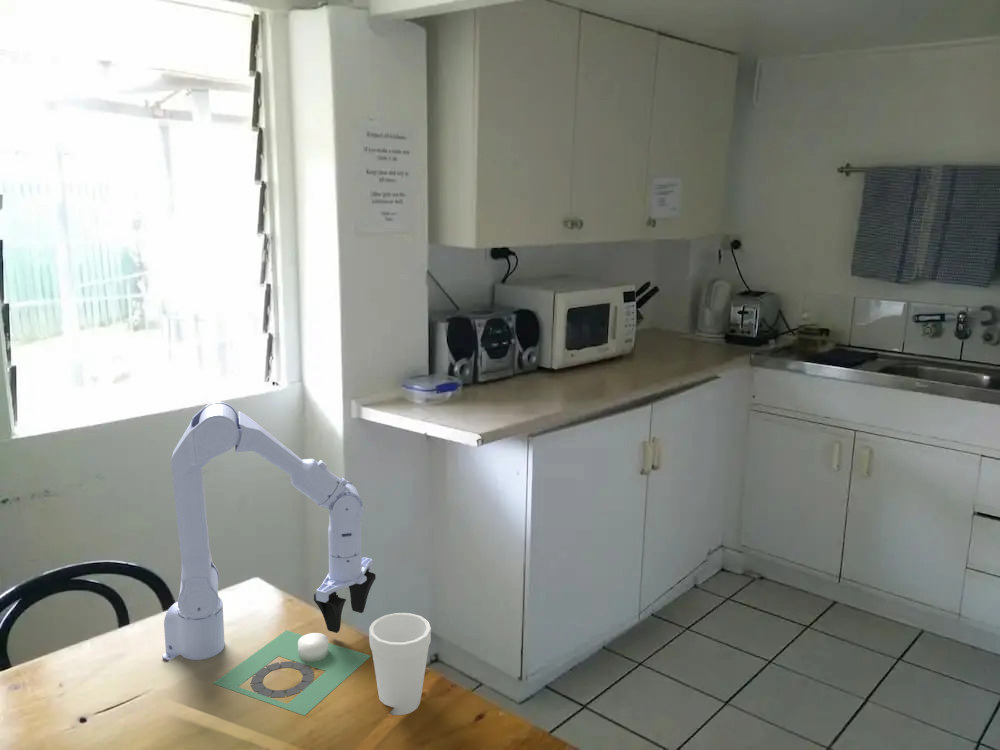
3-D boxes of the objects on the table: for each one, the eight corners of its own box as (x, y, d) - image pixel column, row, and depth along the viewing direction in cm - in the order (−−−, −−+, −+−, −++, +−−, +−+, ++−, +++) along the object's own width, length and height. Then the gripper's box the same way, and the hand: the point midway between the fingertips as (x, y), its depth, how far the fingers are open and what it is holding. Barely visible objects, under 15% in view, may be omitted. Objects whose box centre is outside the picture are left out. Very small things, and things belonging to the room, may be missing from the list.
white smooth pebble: (292, 657, 135) (291, 644, 135) (310, 643, 140) (310, 630, 139) (316, 665, 133) (315, 652, 133) (334, 650, 138) (334, 637, 137)
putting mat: (213, 691, 128) (212, 683, 128) (286, 637, 144) (286, 630, 144) (304, 724, 121) (304, 715, 120) (371, 663, 137) (371, 655, 137)
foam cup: (419, 725, 121) (419, 648, 118) (361, 716, 123) (360, 640, 120) (436, 689, 130) (437, 616, 127) (382, 681, 132) (382, 609, 129)
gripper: (339, 572, 134) (340, 645, 137) (386, 540, 147) (386, 607, 150) (305, 563, 137) (307, 635, 139) (354, 532, 149) (354, 599, 152)
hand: (346, 620), depth 145 cm, fingers open, 7 cm apart
